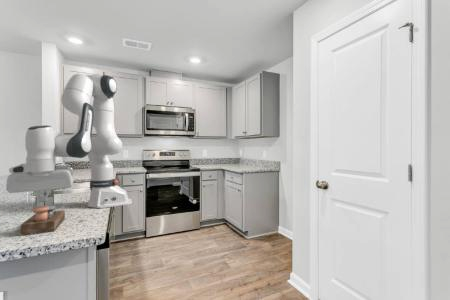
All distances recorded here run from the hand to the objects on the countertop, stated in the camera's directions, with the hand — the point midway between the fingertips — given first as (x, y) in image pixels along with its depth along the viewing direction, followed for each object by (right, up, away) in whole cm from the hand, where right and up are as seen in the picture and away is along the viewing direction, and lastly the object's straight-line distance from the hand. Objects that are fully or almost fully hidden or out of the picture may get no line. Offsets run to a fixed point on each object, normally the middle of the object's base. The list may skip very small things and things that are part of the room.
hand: (42, 201), depth 86 cm
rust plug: (0, -8, 0) cm, 8 cm away
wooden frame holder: (-2, -11, +3) cm, 12 cm away
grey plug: (-3, -10, +7) cm, 13 cm away
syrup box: (-26, -11, +33) cm, 43 cm away
